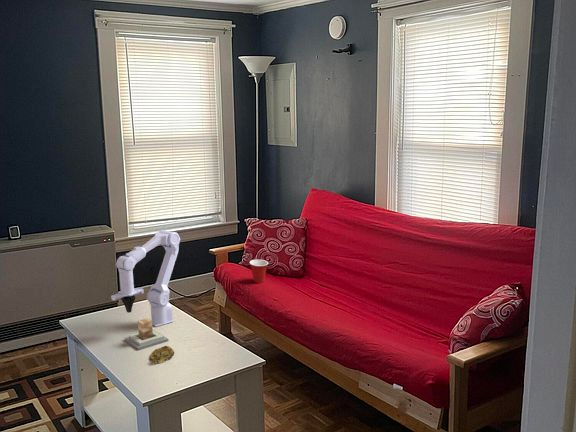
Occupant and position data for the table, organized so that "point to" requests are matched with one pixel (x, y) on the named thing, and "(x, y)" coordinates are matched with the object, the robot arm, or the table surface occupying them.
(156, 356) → the mottled brown rock
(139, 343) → the plate
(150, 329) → the tan block
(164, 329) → the table surface
